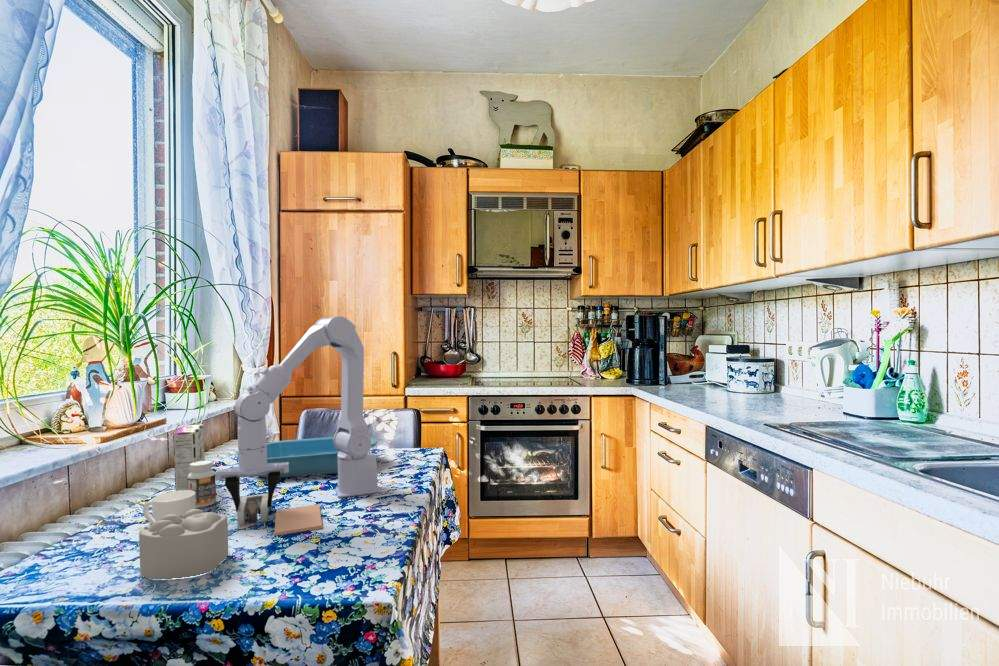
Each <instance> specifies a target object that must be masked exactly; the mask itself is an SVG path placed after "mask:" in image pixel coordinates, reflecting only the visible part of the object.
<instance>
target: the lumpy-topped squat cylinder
mask: <svg viewBox="0 0 999 666" xmlns="http://www.w3.org/2000/svg"><path fill="white" fill-rule="evenodd" d="M228 524H229V523H228V516H227V515H225V514H222V513H216V512H210V511H209V512H204V511H203V509H200V508H195V509H191V510H189V511H187V512H186V513H184V514H183V515H176V514H169V515H165V516H164V517H162V518H161V519H160V520H159V521H156V522H152V523H151V522H149V524H148V525H145V526H143V527H142V528H141V529H139V532H138V540H139V542H138V543H139V547H138V548H139V574H140V576H141V575H142V576H144V577H146V578H145V579H147V578H151V579H172V578H182V577H190V576H196V575H200V574H204V573H207V572H210V571H212V570H214V569H215V568H217V566H218V565H219V566H220V564H221V563H222V562H221V561H223V560H224V559H225V558H226V559H228V557H229V529H228V528H229V525H228ZM227 556H228V557H227ZM226 559H225V560H226ZM225 560H224V561H225ZM224 561H223V562H224ZM220 562H221V563H220ZM219 563H220V564H219ZM219 566H218V567H219ZM217 569H218V568H217ZM142 576H141V577H142ZM144 577H143V578H144Z"/></svg>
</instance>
